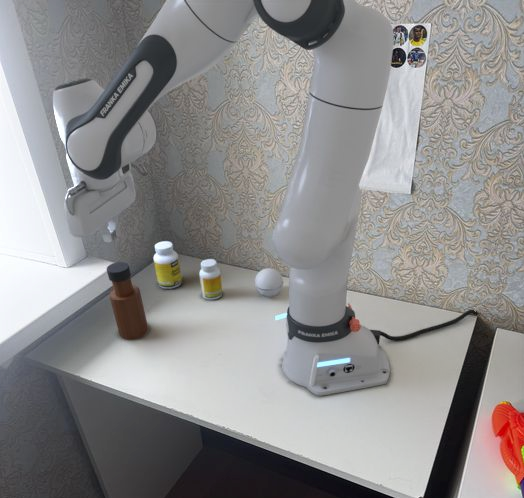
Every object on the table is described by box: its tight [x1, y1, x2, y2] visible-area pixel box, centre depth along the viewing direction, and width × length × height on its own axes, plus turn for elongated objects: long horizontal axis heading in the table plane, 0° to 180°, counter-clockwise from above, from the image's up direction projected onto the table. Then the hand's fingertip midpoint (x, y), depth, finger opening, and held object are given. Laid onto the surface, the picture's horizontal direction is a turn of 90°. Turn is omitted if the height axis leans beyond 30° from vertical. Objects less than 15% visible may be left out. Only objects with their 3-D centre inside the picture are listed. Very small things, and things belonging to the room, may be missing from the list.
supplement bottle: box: [198, 258, 223, 301], centre depth 129 cm, size 5×5×10 cm
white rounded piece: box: [254, 267, 289, 298], centre depth 128 cm, size 10×7×7 cm
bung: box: [106, 261, 132, 283], centre depth 111 cm, size 5×5×4 cm
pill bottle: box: [152, 240, 183, 290], centre depth 134 cm, size 6×6×12 cm
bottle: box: [108, 277, 149, 341], centre depth 116 cm, size 7×7×15 cm
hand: (111, 239), depth 105 cm, fingers closed
